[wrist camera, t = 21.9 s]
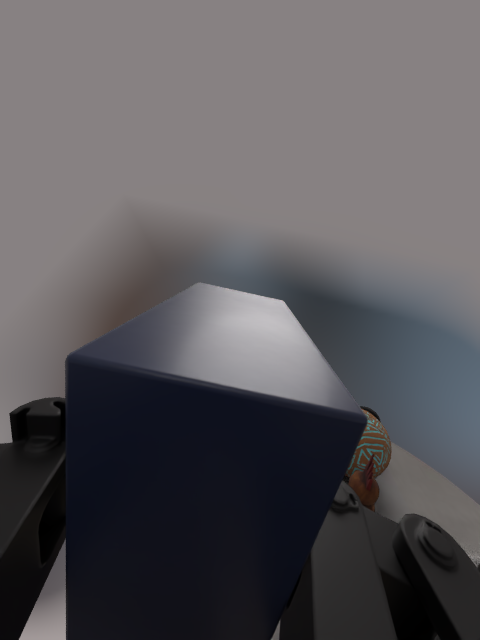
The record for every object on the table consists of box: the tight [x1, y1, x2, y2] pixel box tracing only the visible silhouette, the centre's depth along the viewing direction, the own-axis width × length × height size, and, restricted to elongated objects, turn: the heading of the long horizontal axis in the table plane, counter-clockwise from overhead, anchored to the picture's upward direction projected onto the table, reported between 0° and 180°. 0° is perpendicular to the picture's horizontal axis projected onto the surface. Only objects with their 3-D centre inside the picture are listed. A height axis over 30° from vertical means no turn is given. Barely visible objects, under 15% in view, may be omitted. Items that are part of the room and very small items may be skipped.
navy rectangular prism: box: [65, 283, 367, 640], centre depth 7 cm, size 7×4×10 cm, turn 178°
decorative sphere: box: [345, 409, 391, 478], centre depth 53 cm, size 15×15×15 cm
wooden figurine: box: [348, 454, 379, 512], centre depth 41 cm, size 7×6×15 cm
